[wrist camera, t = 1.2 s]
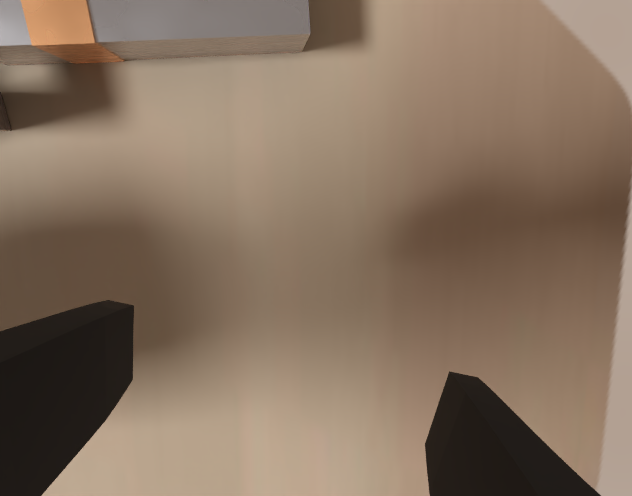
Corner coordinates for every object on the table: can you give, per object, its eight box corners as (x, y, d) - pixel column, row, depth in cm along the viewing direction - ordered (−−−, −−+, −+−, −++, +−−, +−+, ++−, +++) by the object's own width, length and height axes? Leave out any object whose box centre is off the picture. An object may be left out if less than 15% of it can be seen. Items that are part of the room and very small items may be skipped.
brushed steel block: (8, 66, 15) (-51, 48, 13) (-16, -22, 15) (-85, -63, 12) (301, 53, 17) (311, 34, 14) (295, -28, 16) (304, -66, 13)
